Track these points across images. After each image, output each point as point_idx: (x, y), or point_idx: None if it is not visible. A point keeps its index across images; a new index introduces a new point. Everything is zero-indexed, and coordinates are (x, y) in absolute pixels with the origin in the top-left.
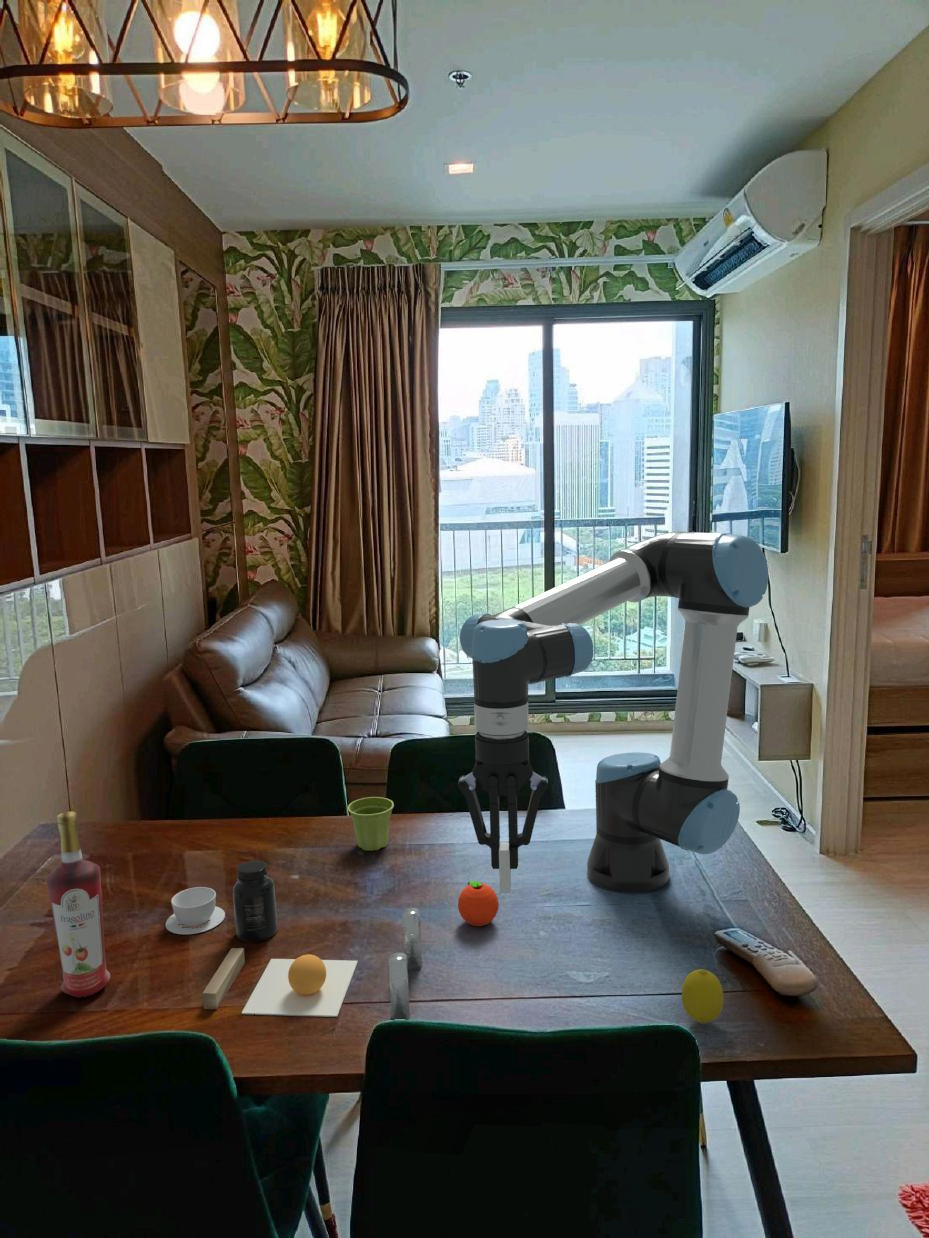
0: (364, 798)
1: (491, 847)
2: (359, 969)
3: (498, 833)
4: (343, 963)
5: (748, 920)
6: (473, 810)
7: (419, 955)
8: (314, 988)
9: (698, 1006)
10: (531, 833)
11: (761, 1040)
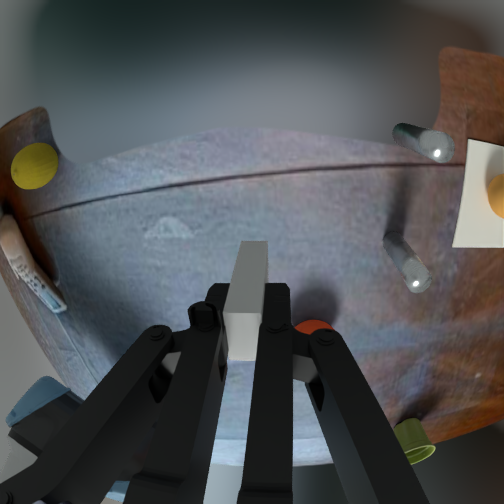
0: (416, 462)
1: (288, 322)
2: (450, 231)
3: (256, 363)
4: (465, 241)
5: (50, 321)
6: (380, 449)
7: (390, 244)
8: (497, 176)
9: (36, 144)
10: (126, 353)
11: (18, 144)
